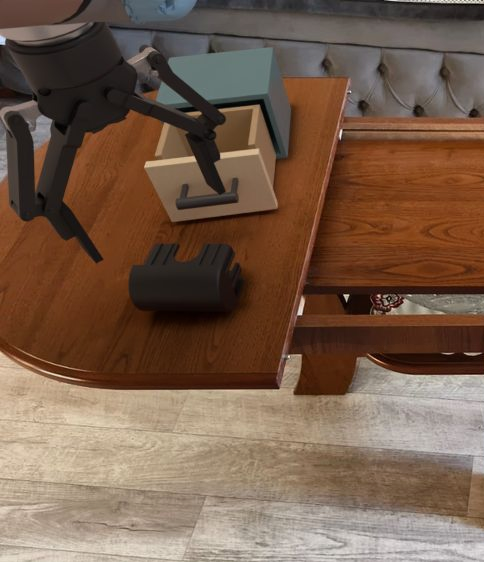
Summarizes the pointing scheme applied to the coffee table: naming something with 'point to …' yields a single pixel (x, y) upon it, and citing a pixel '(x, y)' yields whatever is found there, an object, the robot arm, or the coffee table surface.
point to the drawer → (231, 168)
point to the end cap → (186, 280)
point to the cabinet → (235, 87)
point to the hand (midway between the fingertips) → (158, 220)
